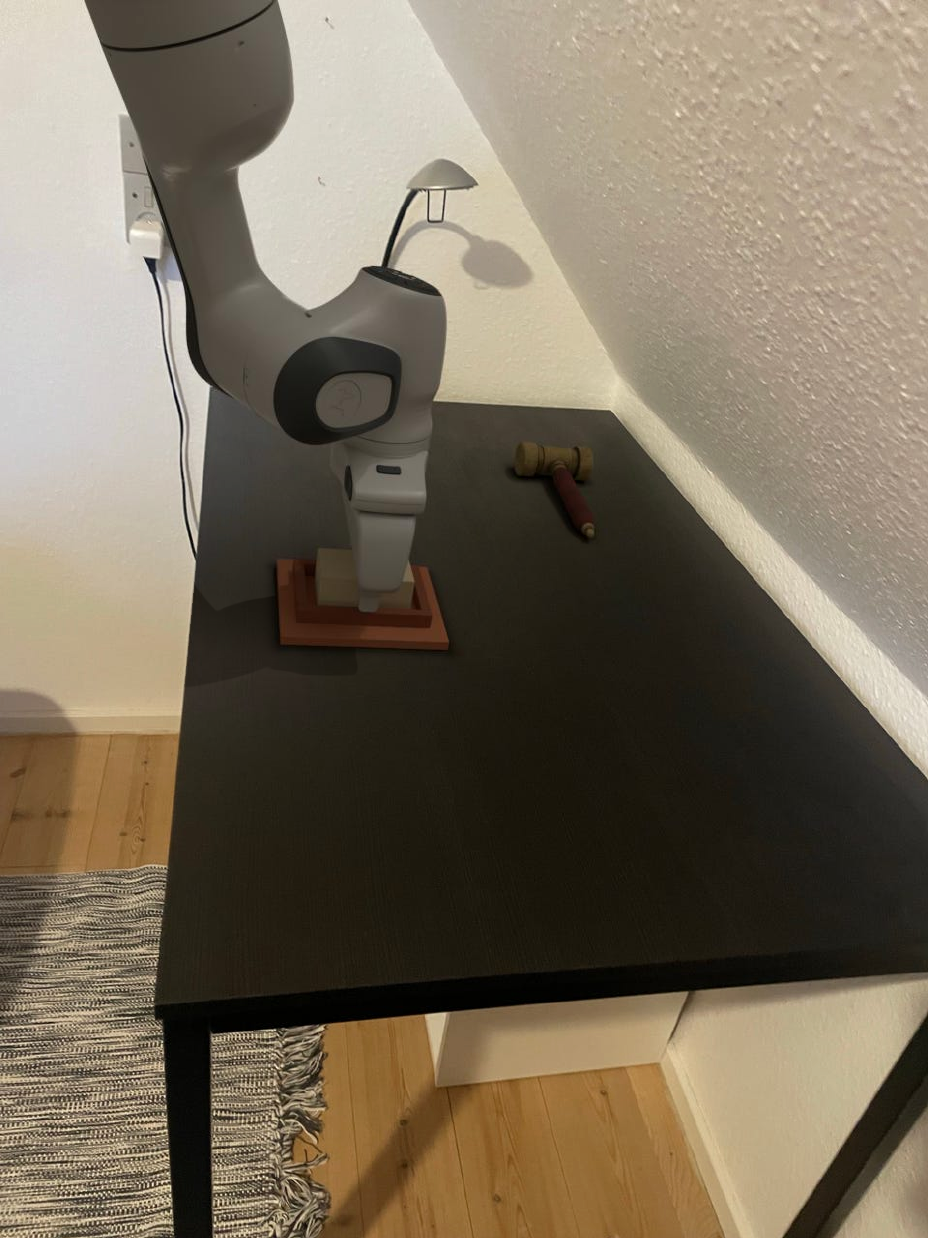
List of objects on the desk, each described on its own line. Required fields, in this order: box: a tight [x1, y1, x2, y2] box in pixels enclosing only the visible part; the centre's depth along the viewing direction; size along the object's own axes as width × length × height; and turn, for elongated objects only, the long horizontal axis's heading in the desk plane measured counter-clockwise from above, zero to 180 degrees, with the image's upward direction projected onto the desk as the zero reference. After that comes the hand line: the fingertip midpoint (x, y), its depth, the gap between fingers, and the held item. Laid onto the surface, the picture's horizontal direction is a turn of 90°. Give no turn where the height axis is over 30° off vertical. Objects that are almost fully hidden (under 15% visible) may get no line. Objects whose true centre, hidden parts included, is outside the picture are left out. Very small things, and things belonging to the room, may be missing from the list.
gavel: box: [514, 441, 595, 539], centre depth 124 cm, size 21×5×10 cm
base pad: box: [276, 558, 450, 651], centre depth 95 cm, size 16×14×2 cm
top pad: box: [315, 547, 414, 609], centre depth 94 cm, size 9×6×4 cm, turn 100°
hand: (361, 581), depth 94 cm, fingers open, 8 cm apart
